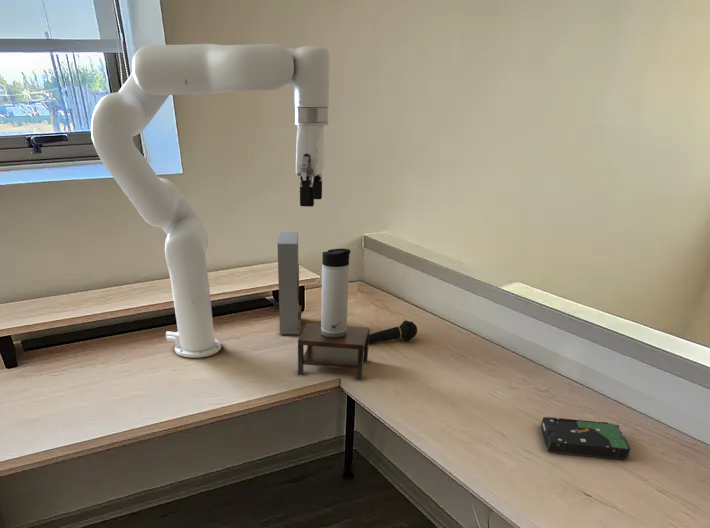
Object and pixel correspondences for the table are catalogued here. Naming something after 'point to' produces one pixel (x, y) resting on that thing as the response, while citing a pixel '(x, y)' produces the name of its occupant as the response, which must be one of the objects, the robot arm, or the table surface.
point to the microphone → (395, 333)
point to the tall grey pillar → (289, 283)
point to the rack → (333, 348)
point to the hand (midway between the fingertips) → (311, 202)
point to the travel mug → (334, 292)
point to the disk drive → (584, 438)
